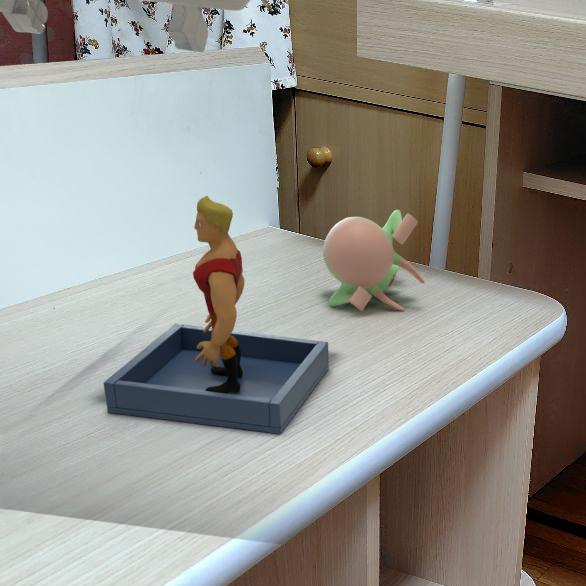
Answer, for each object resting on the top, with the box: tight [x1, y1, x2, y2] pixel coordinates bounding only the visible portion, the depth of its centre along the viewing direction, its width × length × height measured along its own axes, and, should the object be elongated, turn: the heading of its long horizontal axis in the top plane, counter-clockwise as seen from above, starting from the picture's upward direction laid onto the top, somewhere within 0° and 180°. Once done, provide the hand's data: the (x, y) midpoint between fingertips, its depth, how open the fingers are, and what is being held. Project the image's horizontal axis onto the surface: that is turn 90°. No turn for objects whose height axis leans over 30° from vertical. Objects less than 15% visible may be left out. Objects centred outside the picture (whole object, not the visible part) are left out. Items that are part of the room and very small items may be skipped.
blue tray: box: [103, 323, 330, 435], centre depth 81 cm, size 14×14×2 cm
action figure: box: [192, 195, 245, 394], centre depth 77 cm, size 10×4×15 cm, turn 10°
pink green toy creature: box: [322, 209, 426, 312], centre depth 102 cm, size 12×10×9 cm
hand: (113, 32), depth 57 cm, fingers open, 8 cm apart
